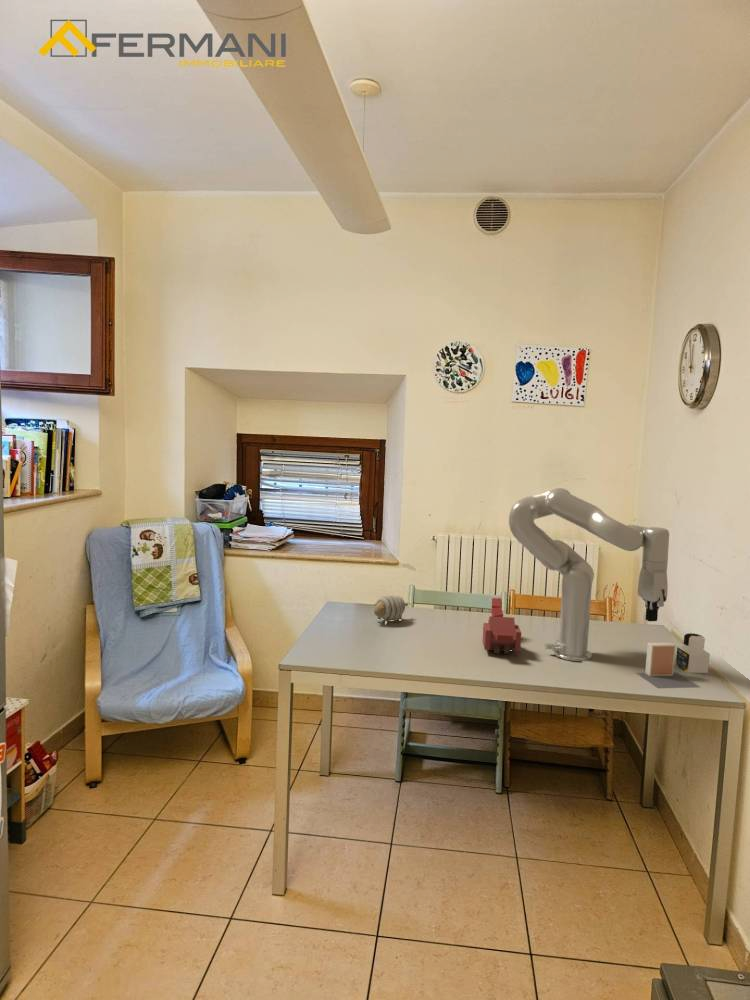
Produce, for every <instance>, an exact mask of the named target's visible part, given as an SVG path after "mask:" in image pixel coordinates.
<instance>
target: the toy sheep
mask: <svg viewBox="0 0 750 1000" xmlns="http://www.w3.org/2000/svg"><path fill="white" fill-rule="evenodd" d="M408 605H409V603H408V602H405V600H404V598H403V597H401V596H400V595H398V594H392V593H391V594H389V593H388V594H385V595H383V596H381V597H380V598H378V599H377V601H376V602H375V603H374V606H375V607H374V609H373V614H374V615H375V616H377V617H376V618H378V619H380V620H381V619H382V618H383V619H384V620H383V619H382V620H383V621H388V620H394V621H393V622H395V621H396V619H397V620H398V619H402V617H403V613H404V612H405V609H406V607H408ZM388 622H389V621H388Z"/></svg>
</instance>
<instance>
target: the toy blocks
mask: <svg viewBox="0 0 750 1000" xmlns="http://www.w3.org/2000/svg"><path fill="white" fill-rule="evenodd" d="M502 606H503V600H502V597H501V598H500V597H498V598H497V597H491V615H489V617H488V621H487V622H483V625H482V640H481V641H482V645H483V649H484V650H485V651H491V650H490V649H494V650H493V654H494V653H499V654H500V651H501V650H504V651H503V654H504V655H510V653H511V652H513V650H514V652H515V653H516V652H517V653H519V652H520V653H521V646H522V645H521V644H522V631H521V629H520V627H519V625H518V624H515V623H516V622H515V621H516V620H515V617H511V616H509V617H508V616H504V612H503V607H502ZM510 650H512V651H510Z"/></svg>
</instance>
